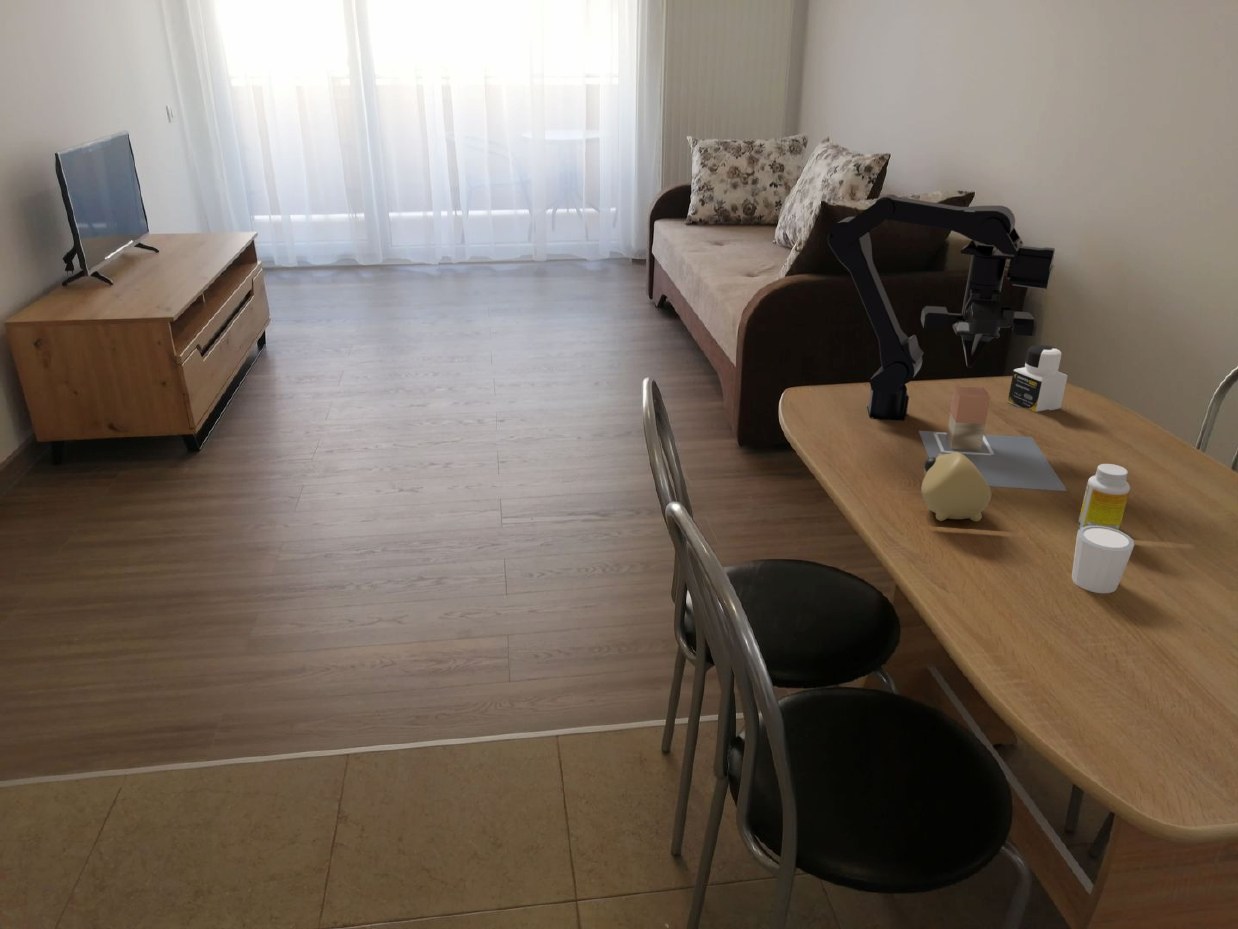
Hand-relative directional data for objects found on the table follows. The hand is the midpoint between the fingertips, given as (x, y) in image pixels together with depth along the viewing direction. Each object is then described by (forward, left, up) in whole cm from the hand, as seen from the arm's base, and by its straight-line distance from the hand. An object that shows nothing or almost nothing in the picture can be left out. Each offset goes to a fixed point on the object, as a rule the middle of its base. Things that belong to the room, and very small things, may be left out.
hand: (969, 366), depth 169 cm
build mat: (+2, -14, -12) cm, 19 cm away
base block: (-1, -8, -12) cm, 14 cm away
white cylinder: (+8, -52, -13) cm, 54 cm away
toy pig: (-8, -35, -13) cm, 38 cm away
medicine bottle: (+17, +15, -13) cm, 26 cm away
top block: (-1, -8, -7) cm, 11 cm away
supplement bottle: (+13, -37, -13) cm, 41 cm away
